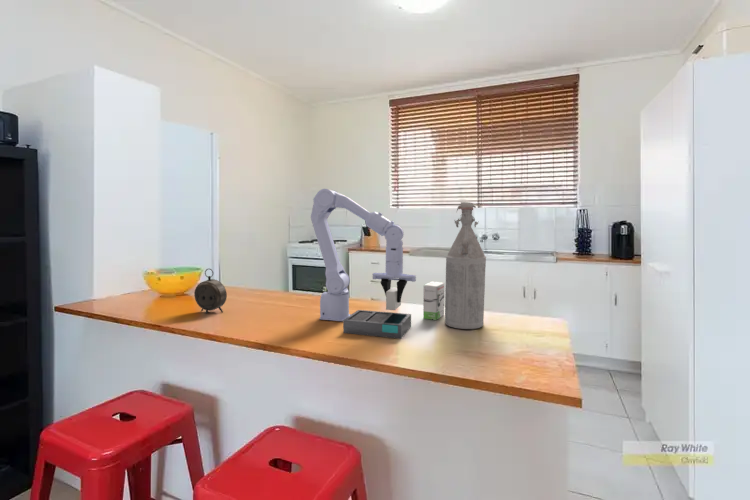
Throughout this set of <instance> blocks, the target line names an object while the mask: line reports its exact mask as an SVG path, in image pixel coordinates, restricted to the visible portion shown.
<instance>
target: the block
mask: <svg viewBox="0 0 750 500" xmlns="http://www.w3.org/2000/svg"><path fill="white" fill-rule="evenodd" d="M401 305H402V300H401V301H400V302H397V286H396V287H395V286H394V287H393V286H391V288H390V289H389V290H388V291H386V295H385V310H386V311H396V310H398V308H399V307H400V306H401Z"/></svg>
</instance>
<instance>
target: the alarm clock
mask: <svg viewBox="0 0 750 500" xmlns="http://www.w3.org/2000/svg"><path fill="white" fill-rule="evenodd" d="M209 270H211V273H212V275H211V276H210V275H209V276H208V275H207V271H209ZM204 276H205V277H206V278H208V279H207V280H204V281H201V282H199V283H198V284H197V285H196V287H195V290H194V299H195V302H196V305H198V307H200V308H201V312H203V311H204V310H205V314H208V312H209V311H210V312H211V311H215V310H217V309H218V310H219V311H220V312H221V313H224V310H223V309H222V308H221V307H223V305H225V303H226V301H227V297H228V296H227V295H228V293H227V289H226V287H225V286H224V284H223V283H222V282H220V280H217V279H214V278H212V277H213V276H214V271H213V269H212V268H206V269H205V271H204Z"/></svg>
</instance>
